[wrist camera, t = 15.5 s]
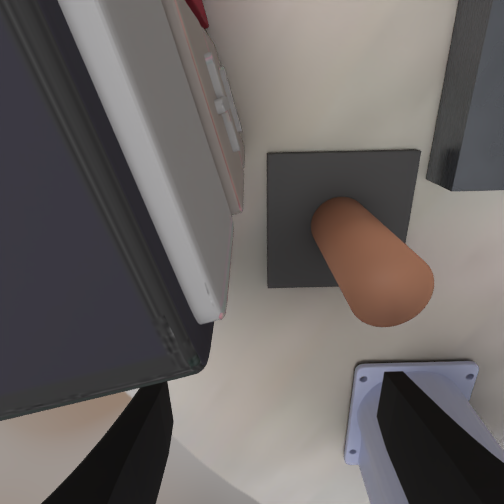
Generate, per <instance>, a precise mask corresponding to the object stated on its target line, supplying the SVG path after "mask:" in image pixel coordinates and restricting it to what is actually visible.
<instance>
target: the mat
mask: <svg viewBox="0 0 504 504" xmlns="http://www.w3.org/2000/svg"><path fill="white" fill-rule="evenodd" d="M420 155H421V151H420V150H373V151H328V152H283V153H267V284H268V288H294V287H335V286H339V285H338V283H337V281H336V279H335V278H334V276H333V274H332V272H331V270H330V268H329V266H328V264H327V262H326V260H325V258H324V257H323V255H322V253H321V251H320V249H319V247H318V245H317V243H316V241H315V239H314V237H313V235H312V232H311V221H312V217H313V215H314V213H315V211H316V210H317V209H318V208H319V206H320V205H322V204H323V203H324V202H326V201H328V200H329V199H332V198H336V197H349V198H352V199H354V200H356V201H358V202H359V203H360V204H361V205H362V206H363V207H364V208H366V209H367V210H368V211H369V212H370V213H371V214H372V215H373V216H374V217H376V218H377V219H378V220H379V221H380V222H381V223H382V224H383V225H384V226H386V227H387V228H388V229H389V230H390V231H391V232H392V233H393V234H395V235H396V236H397V237H398V238H399V239H400V240H401V241H402V242H403V243H405V242H406V236H407V230H408V225H409V219H410V213H411V207H412V201H413V196H414V190H415V184H416V178H417V173H418V167H419V161H420Z"/></svg>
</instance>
